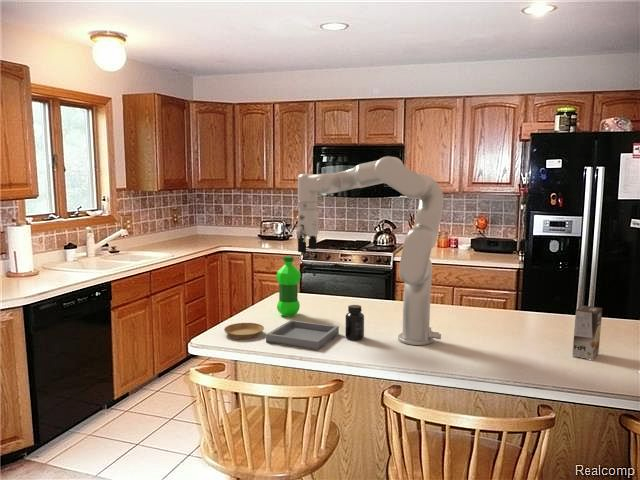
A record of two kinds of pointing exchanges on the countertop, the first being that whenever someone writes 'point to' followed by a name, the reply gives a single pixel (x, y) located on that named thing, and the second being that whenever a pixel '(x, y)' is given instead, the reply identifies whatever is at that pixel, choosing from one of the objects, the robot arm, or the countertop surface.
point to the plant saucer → (244, 330)
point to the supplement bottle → (354, 323)
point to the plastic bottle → (288, 288)
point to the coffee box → (587, 332)
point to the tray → (302, 334)
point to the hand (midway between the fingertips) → (307, 250)
